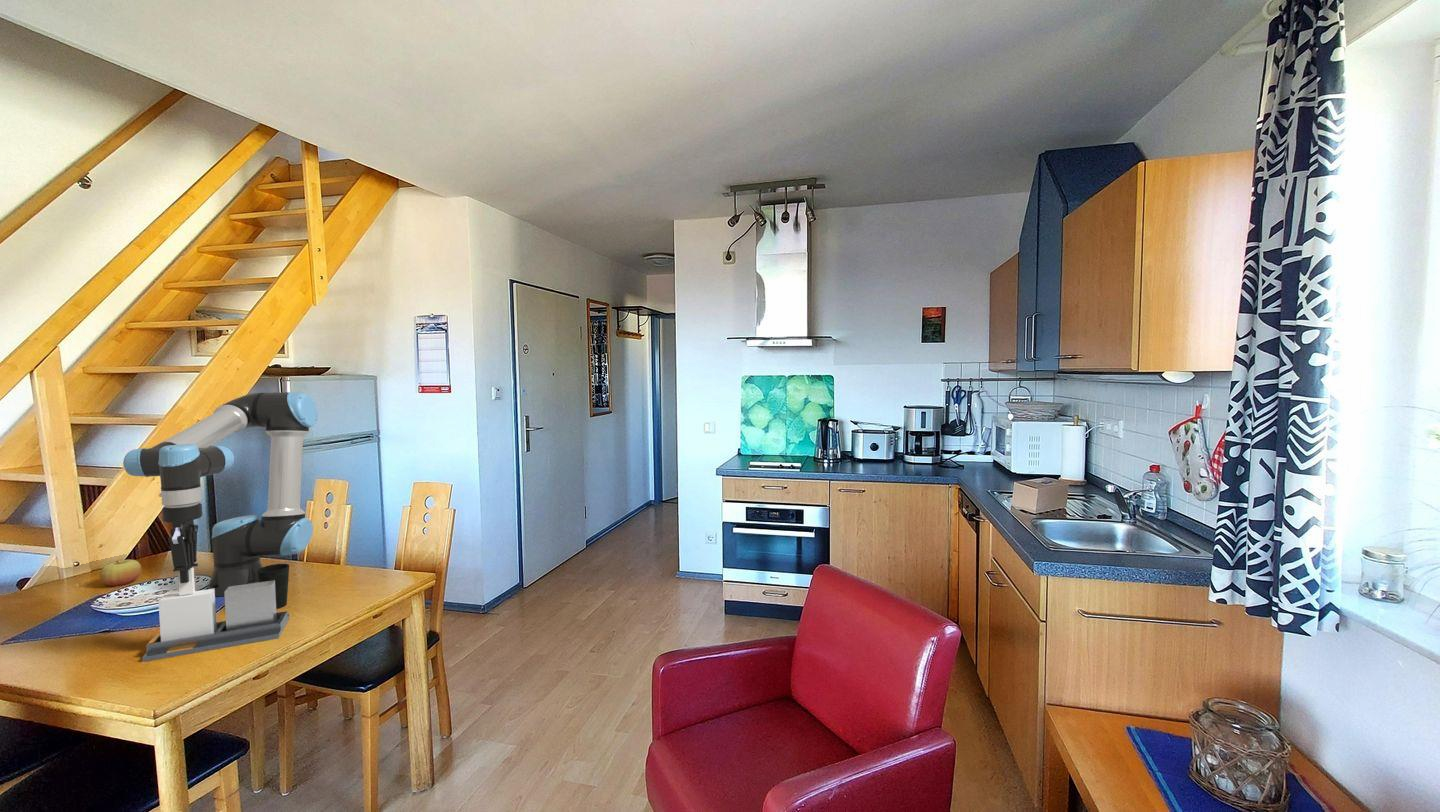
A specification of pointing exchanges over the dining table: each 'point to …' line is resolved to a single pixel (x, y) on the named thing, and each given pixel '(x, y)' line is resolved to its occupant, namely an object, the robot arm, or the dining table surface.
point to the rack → (231, 623)
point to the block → (187, 615)
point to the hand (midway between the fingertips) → (187, 593)
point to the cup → (276, 581)
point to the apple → (120, 572)
